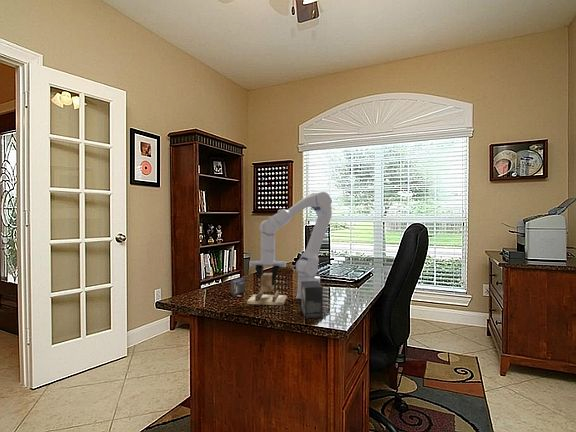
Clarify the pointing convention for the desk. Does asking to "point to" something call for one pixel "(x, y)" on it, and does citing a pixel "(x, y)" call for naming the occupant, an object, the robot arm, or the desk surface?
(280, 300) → the post slot base
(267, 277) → the rail end block
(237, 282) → the mini dv tape
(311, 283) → the small box
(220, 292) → the desk surface
